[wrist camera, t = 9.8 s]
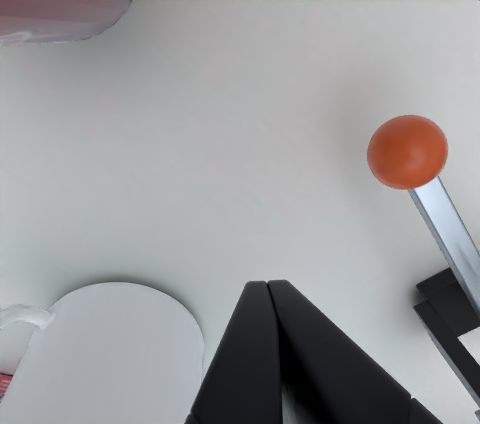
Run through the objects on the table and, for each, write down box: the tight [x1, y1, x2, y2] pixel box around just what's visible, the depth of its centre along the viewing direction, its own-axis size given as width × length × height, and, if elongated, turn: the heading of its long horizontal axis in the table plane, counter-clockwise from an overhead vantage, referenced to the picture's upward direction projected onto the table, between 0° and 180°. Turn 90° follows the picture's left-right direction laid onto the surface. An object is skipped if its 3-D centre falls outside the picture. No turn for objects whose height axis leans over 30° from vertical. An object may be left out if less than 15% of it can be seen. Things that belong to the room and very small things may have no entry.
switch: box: [367, 115, 480, 320], centre depth 17 cm, size 18×3×3 cm, turn 34°
